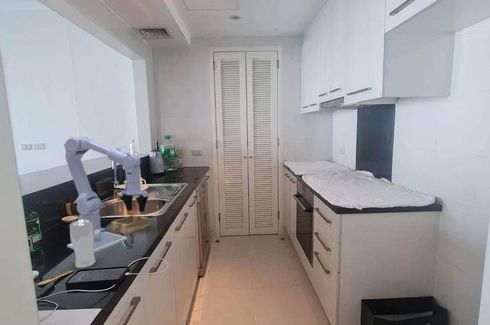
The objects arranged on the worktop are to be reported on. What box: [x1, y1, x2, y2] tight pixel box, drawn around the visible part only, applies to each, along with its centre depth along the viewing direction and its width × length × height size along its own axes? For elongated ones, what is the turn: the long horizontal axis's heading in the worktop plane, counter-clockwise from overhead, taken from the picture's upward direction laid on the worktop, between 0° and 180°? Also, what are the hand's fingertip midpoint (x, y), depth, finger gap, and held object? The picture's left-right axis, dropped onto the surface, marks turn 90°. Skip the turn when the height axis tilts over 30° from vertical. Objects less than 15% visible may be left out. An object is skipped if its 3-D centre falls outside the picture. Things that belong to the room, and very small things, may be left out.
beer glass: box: [69, 219, 96, 269], centre depth 93 cm, size 7×7×15 cm
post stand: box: [66, 229, 128, 254], centre depth 112 cm, size 16×16×6 cm
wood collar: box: [110, 214, 151, 235], centre depth 129 cm, size 12×12×4 cm
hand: (135, 211), depth 124 cm, fingers open, 7 cm apart
